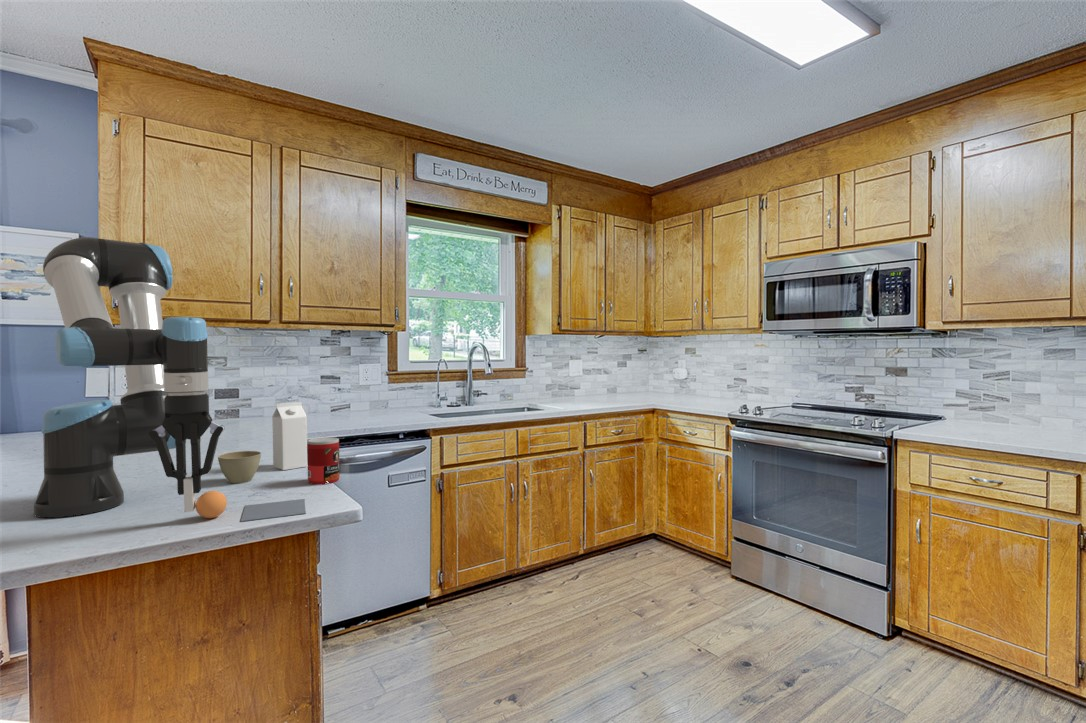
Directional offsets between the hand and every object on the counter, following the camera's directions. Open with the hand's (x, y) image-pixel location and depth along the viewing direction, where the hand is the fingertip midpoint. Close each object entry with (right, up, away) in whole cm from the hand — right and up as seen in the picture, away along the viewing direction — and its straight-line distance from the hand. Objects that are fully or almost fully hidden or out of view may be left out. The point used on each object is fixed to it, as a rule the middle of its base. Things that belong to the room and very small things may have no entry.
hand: (190, 509), depth 110 cm
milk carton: (-3, -1, +50) cm, 50 cm away
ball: (+3, 0, +2) cm, 4 cm away
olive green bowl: (-8, -2, +33) cm, 34 cm away
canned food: (+14, -2, +33) cm, 36 cm away
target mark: (+14, -2, +7) cm, 16 cm away
